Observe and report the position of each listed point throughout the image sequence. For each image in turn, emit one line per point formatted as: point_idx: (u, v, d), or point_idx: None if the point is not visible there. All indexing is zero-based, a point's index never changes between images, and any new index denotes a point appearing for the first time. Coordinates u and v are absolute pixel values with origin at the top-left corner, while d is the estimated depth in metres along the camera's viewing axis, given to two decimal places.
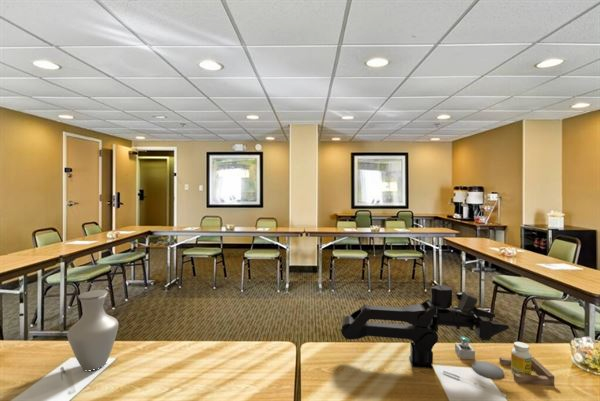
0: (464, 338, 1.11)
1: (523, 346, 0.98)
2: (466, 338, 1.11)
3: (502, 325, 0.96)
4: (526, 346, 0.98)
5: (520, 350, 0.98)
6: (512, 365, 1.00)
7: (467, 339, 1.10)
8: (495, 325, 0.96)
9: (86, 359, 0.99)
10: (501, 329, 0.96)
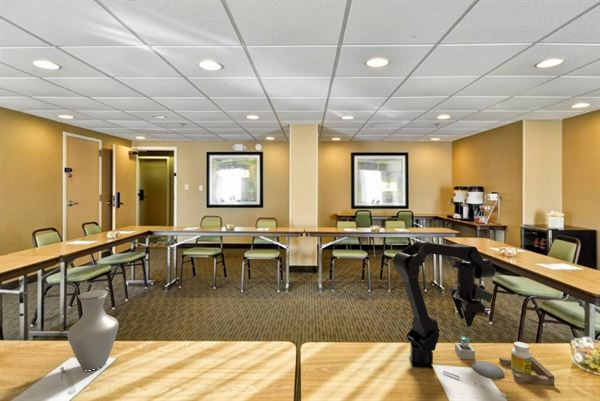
0: (464, 338, 1.11)
1: (523, 346, 0.98)
2: (466, 338, 1.11)
3: (471, 321, 1.07)
4: (526, 346, 0.98)
5: (520, 350, 0.98)
6: (512, 365, 1.00)
7: (467, 339, 1.10)
8: (473, 315, 1.06)
9: (86, 359, 0.99)
10: (467, 320, 1.07)
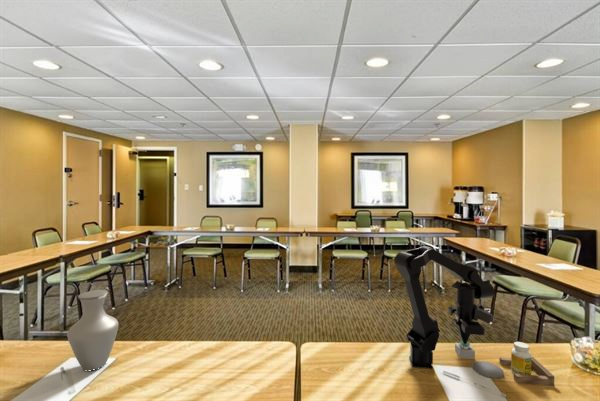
0: None
1: (523, 346, 0.98)
2: None
3: (467, 338, 1.10)
4: (526, 346, 0.98)
5: (520, 350, 0.98)
6: (512, 365, 1.00)
7: (467, 343, 1.10)
8: None
9: (86, 359, 0.99)
10: (463, 337, 1.10)
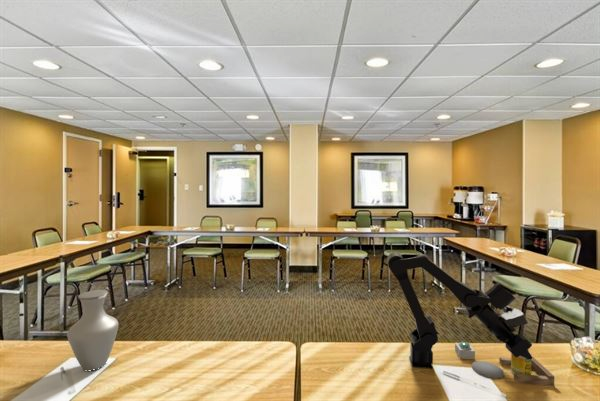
0: (464, 344, 1.11)
1: None
2: (466, 343, 1.11)
3: (529, 353, 0.96)
4: None
5: None
6: (512, 365, 1.00)
7: (467, 344, 1.10)
8: None
9: (86, 359, 0.99)
10: (525, 355, 0.96)
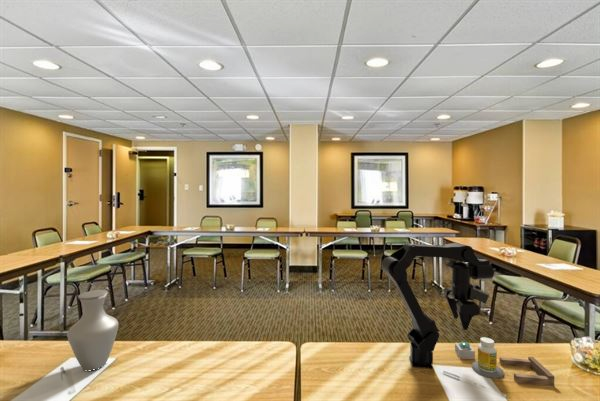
0: (464, 344, 1.11)
1: (488, 342, 1.00)
2: (466, 343, 1.11)
3: (468, 324, 1.02)
4: (491, 341, 1.00)
5: (485, 345, 1.00)
6: (478, 360, 1.02)
7: (467, 344, 1.10)
8: (469, 318, 1.01)
9: (86, 359, 0.99)
10: (464, 323, 1.02)
